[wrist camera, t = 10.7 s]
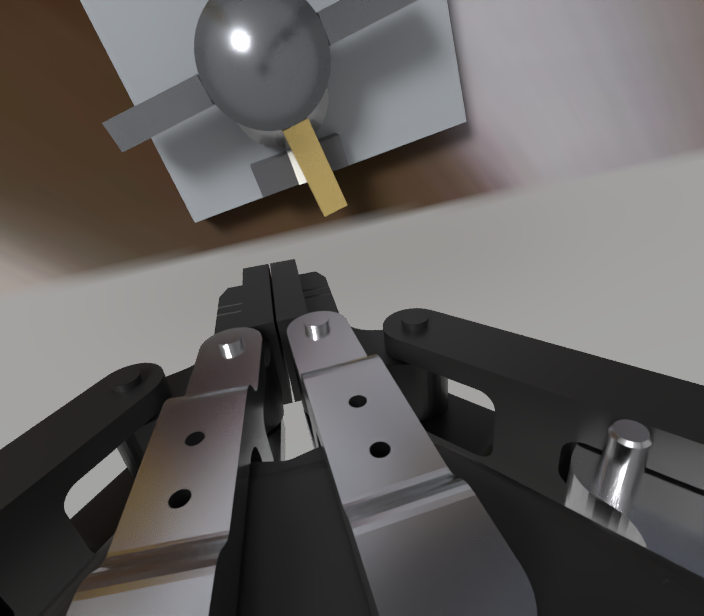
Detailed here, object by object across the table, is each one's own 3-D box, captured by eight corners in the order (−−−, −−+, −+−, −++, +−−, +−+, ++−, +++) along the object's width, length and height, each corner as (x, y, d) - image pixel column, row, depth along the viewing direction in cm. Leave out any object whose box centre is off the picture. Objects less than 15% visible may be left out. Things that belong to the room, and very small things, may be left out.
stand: (407, -153, 25) (429, -185, 22) (454, 119, 32) (475, 123, 29) (69, -37, 24) (45, -54, 21) (197, 214, 32) (192, 228, 29)
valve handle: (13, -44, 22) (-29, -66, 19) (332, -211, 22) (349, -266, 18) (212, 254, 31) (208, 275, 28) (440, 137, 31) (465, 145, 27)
